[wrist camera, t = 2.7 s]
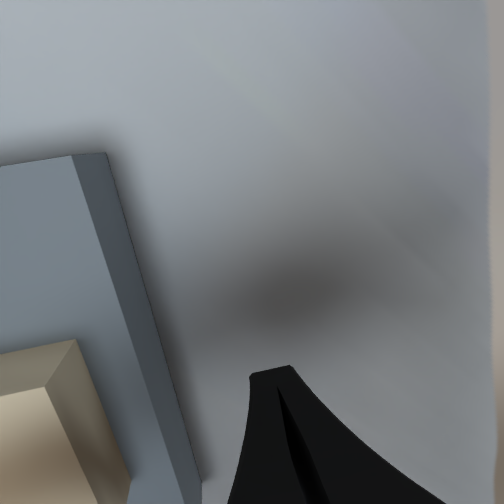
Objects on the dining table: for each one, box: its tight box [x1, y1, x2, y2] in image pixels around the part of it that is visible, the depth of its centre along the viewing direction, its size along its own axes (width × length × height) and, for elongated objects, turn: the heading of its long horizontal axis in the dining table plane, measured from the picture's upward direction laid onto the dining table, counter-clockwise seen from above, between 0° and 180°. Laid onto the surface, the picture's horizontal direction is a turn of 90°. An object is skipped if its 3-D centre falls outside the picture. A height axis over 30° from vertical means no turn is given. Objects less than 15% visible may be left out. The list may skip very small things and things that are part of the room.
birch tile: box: [0, 339, 131, 504], centre depth 9 cm, size 6×5×2 cm
